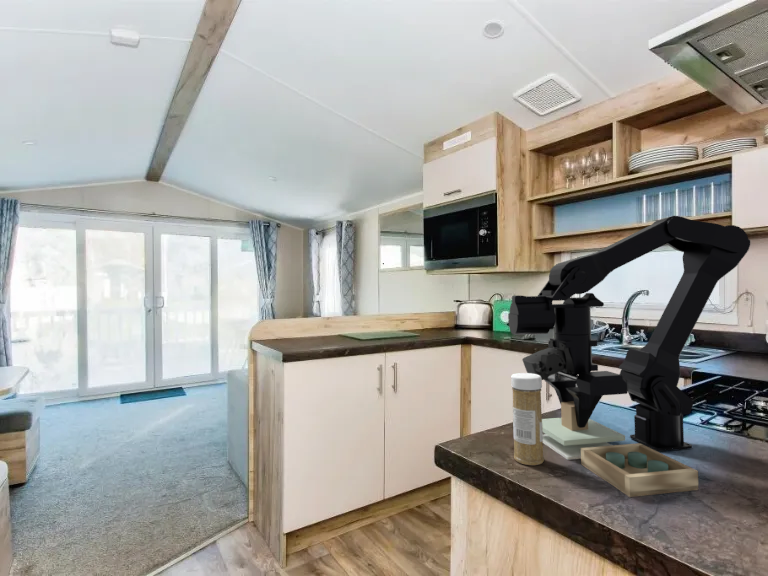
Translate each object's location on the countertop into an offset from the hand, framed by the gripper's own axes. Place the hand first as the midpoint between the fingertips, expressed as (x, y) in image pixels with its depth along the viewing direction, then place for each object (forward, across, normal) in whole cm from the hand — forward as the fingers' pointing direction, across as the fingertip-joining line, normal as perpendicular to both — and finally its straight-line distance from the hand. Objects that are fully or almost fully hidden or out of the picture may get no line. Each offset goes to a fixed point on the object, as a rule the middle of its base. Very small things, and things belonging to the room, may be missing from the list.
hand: (575, 424), depth 70 cm
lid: (+1, 0, 0) cm, 1 cm away
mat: (+4, 0, 0) cm, 4 cm away
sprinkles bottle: (+4, +4, -11) cm, 13 cm away
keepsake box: (+4, +12, +1) cm, 13 cm away
